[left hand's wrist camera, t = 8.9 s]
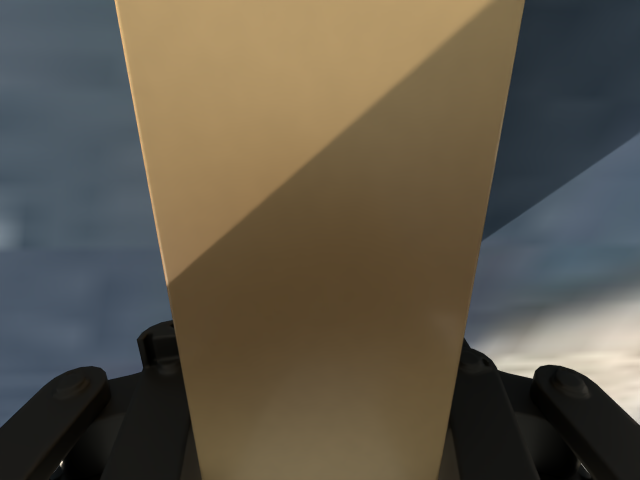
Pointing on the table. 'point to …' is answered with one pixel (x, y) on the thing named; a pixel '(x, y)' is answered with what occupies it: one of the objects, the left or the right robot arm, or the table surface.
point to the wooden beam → (319, 218)
